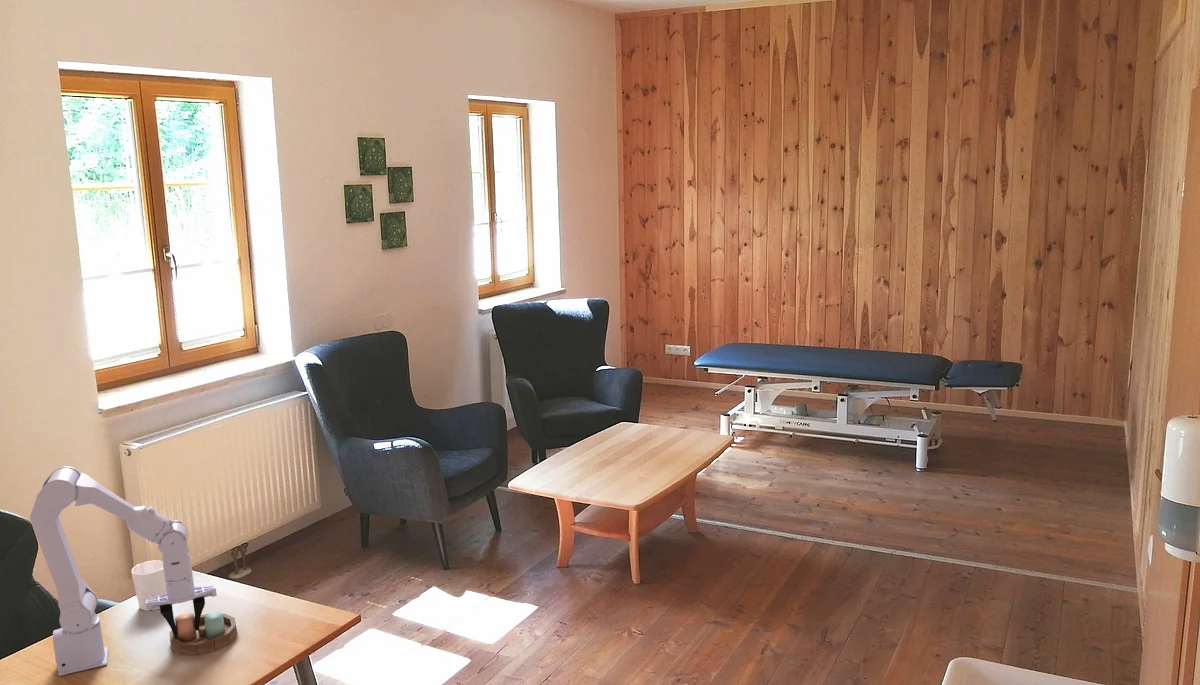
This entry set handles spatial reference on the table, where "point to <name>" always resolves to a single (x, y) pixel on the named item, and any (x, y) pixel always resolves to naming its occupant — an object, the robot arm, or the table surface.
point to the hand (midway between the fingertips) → (186, 630)
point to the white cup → (148, 581)
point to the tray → (205, 639)
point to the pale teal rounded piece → (214, 625)
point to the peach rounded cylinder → (185, 627)
